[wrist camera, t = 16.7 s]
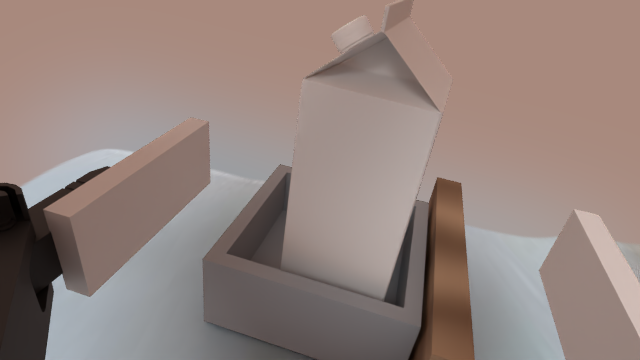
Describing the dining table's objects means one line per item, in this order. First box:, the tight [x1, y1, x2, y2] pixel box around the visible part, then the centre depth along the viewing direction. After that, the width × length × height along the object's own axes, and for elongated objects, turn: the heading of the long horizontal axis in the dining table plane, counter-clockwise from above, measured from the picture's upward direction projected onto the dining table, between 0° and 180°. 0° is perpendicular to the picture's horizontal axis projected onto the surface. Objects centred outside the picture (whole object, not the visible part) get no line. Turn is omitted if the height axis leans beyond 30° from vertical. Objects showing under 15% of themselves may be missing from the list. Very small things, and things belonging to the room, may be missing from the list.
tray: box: [203, 164, 429, 360], centre depth 29 cm, size 13×13×6 cm
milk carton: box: [280, 0, 453, 302], centre depth 25 cm, size 7×7×19 cm
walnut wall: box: [408, 178, 475, 360], centre depth 28 cm, size 18×2×7 cm, turn 164°
